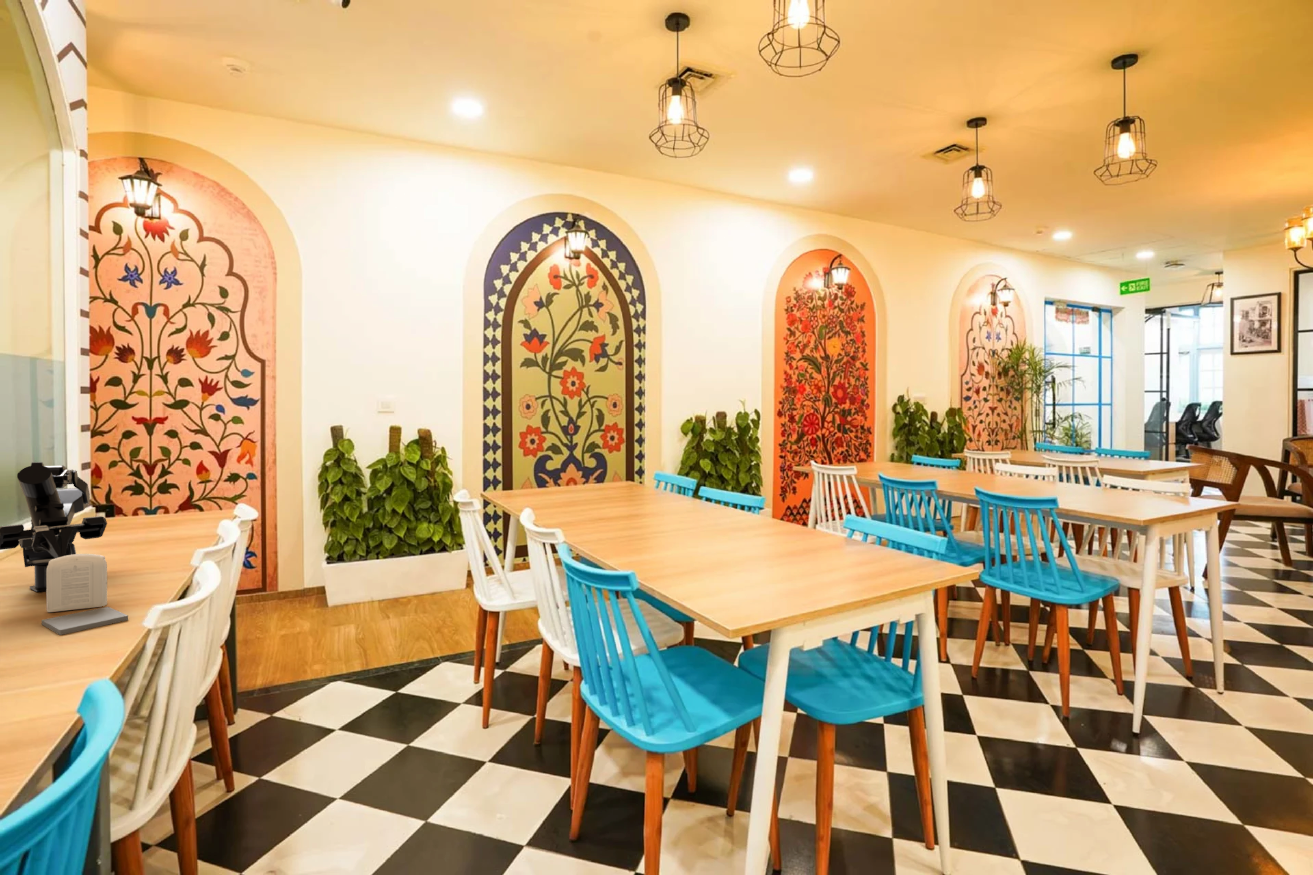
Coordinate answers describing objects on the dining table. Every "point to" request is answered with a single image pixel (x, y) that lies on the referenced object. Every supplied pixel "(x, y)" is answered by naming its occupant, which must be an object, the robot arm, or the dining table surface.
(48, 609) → the photo printer
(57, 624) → the board
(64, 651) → the dining table surface
